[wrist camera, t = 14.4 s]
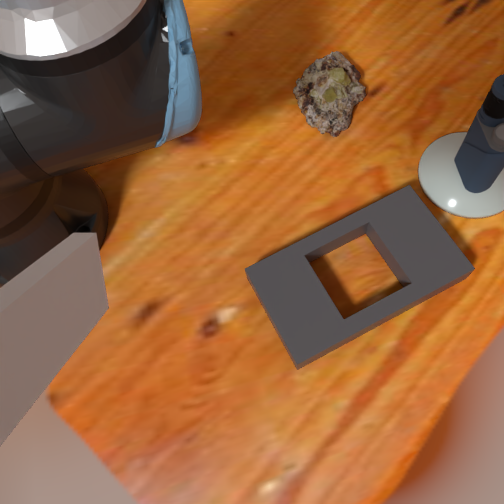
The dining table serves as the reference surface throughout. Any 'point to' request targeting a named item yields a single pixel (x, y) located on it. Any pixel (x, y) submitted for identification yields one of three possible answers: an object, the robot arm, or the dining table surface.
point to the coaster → (456, 182)
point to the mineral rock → (329, 93)
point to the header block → (393, 252)
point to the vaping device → (484, 143)
